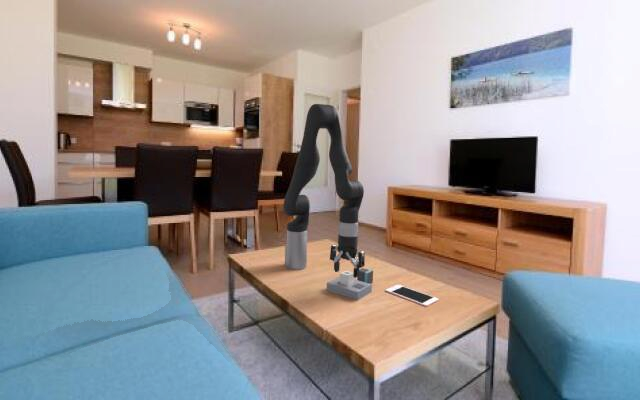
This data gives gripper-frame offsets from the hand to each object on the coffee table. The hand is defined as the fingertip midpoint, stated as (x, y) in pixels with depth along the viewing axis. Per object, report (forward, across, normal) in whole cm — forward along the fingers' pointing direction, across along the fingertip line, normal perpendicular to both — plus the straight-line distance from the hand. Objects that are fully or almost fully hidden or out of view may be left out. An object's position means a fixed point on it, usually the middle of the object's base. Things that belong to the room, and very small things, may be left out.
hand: (346, 274), depth 132 cm
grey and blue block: (+6, +2, +12) cm, 13 cm away
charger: (+6, +1, 0) cm, 6 cm away
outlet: (+6, +2, 0) cm, 6 cm away
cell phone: (+6, +22, +12) cm, 26 cm away
